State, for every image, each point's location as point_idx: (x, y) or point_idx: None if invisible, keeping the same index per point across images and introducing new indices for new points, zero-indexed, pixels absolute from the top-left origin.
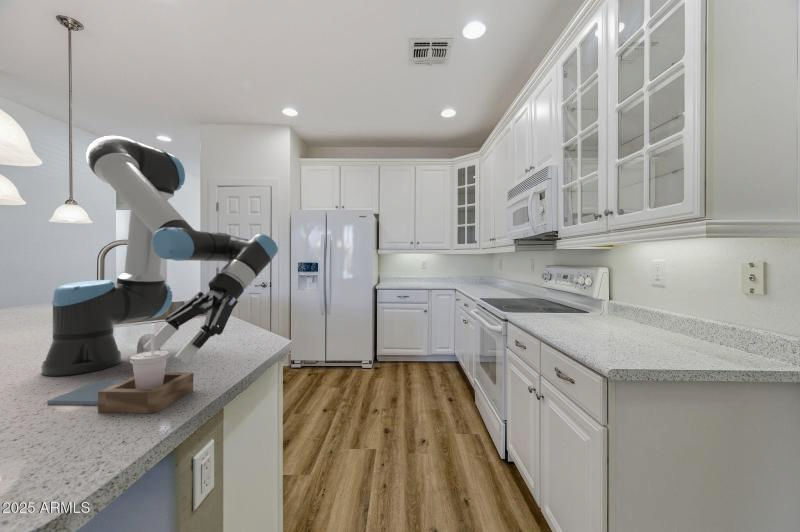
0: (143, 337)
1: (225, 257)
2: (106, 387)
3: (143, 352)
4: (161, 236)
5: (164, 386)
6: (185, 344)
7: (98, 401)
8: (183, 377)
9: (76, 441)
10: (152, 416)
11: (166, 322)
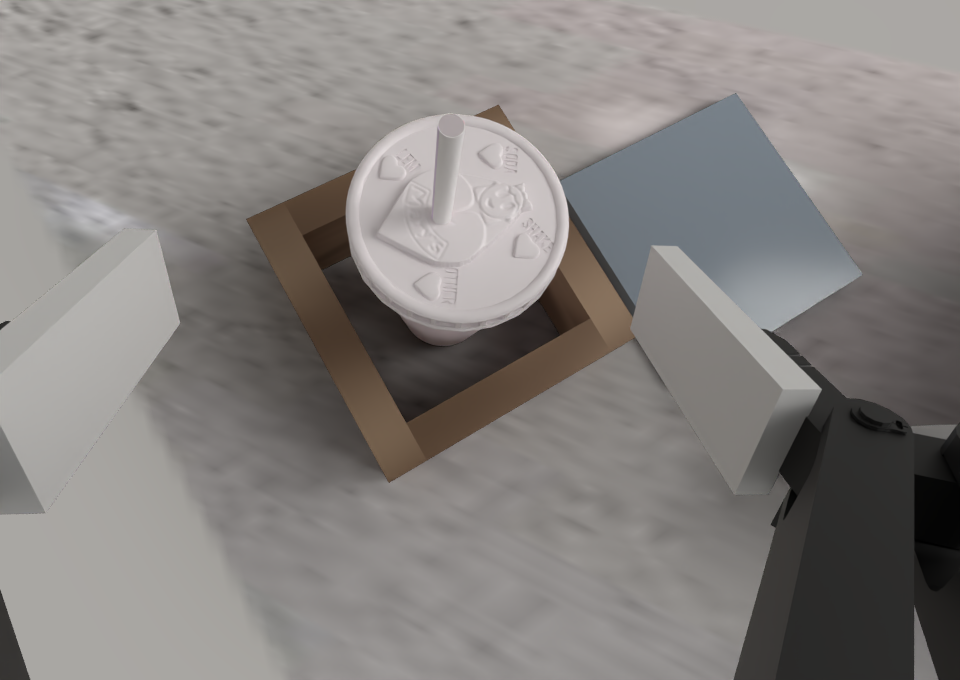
0: None
1: None
2: (729, 251)
3: (561, 214)
4: None
5: (294, 279)
6: (99, 279)
7: None
8: (353, 404)
9: (282, 45)
10: (253, 240)
11: (853, 400)
